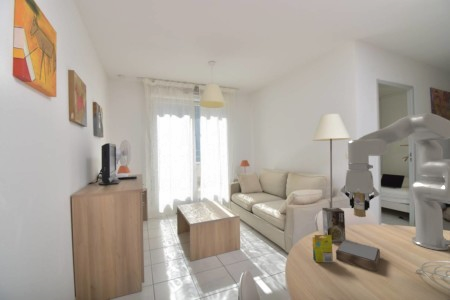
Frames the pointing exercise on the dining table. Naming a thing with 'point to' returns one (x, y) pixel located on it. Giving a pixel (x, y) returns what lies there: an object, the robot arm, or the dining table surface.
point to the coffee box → (334, 223)
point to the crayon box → (322, 248)
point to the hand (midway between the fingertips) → (359, 208)
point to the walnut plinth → (358, 255)
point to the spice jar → (359, 204)
